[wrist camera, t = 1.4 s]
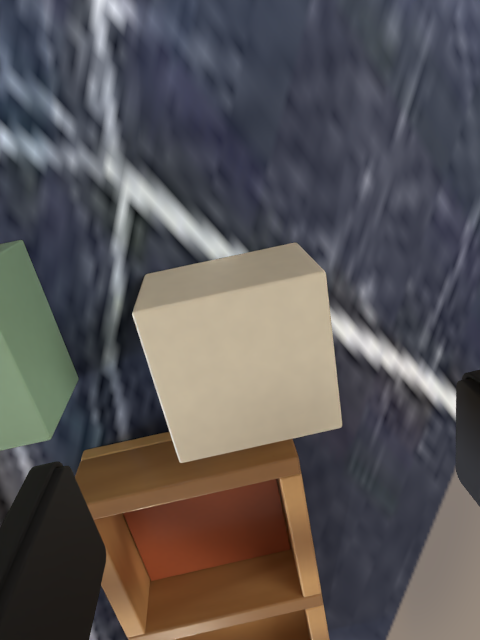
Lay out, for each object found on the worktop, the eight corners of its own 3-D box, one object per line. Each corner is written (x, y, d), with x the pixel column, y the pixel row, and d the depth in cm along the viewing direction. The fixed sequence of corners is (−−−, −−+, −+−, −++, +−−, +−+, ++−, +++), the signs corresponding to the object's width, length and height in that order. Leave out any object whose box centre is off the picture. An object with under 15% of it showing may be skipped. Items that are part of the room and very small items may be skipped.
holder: (83, 449, 18) (62, 509, 15) (281, 406, 18) (298, 457, 15) (178, 667, 24) (176, 737, 21) (322, 634, 24) (339, 699, 21)
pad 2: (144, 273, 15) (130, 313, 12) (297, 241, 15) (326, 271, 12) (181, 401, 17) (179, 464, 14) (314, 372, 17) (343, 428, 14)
